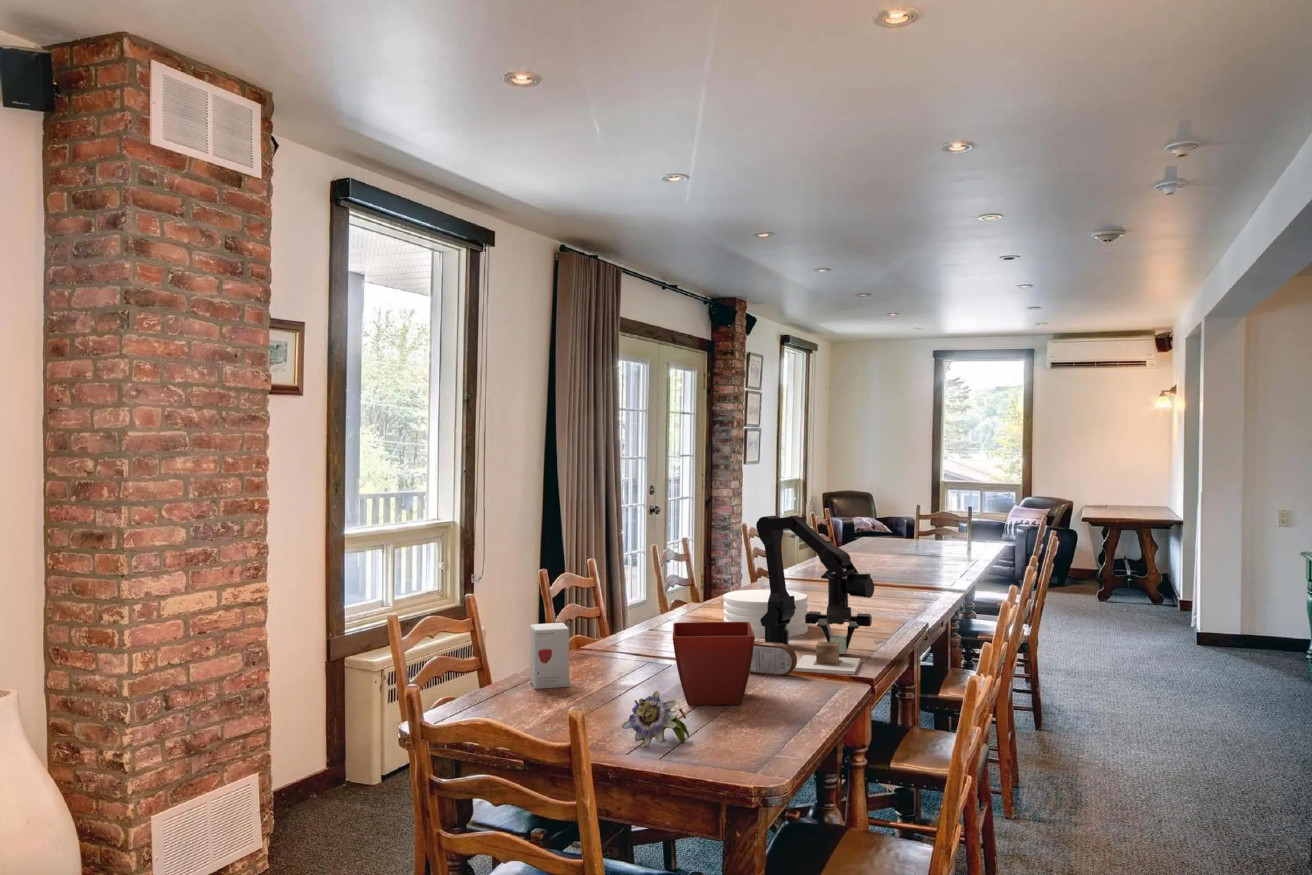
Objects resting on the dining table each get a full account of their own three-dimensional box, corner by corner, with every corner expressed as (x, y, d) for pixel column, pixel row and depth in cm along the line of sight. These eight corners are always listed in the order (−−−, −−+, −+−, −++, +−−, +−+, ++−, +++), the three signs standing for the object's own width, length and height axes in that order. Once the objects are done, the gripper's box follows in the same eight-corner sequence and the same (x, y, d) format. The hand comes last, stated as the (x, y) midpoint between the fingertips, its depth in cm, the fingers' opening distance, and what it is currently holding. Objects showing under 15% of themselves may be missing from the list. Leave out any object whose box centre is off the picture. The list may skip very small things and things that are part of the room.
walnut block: (816, 663, 253) (816, 645, 253) (819, 659, 258) (819, 641, 258) (836, 664, 251) (836, 646, 251) (839, 660, 256) (838, 642, 256)
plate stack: (814, 637, 295) (813, 601, 295) (726, 638, 295) (726, 602, 296) (801, 621, 323) (800, 589, 323) (721, 622, 323) (720, 589, 324)
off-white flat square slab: (794, 671, 249) (794, 666, 249) (803, 658, 264) (803, 654, 264) (854, 674, 244) (854, 670, 244) (860, 661, 260) (860, 657, 260)
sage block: (830, 653, 268) (829, 637, 268) (832, 649, 272) (831, 634, 272) (845, 653, 266) (845, 638, 267) (847, 650, 271) (847, 635, 271)
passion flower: (647, 772, 186) (612, 725, 186) (659, 746, 197) (626, 701, 197) (691, 746, 183) (655, 697, 183) (701, 720, 194) (666, 674, 194)
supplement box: (534, 689, 232) (533, 629, 233) (529, 681, 241) (529, 623, 241) (570, 686, 235) (569, 627, 235) (564, 678, 243) (563, 621, 244)
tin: (797, 675, 245) (797, 643, 245) (794, 678, 242) (793, 645, 242) (743, 670, 251) (743, 639, 251) (740, 672, 248) (739, 641, 248)
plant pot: (674, 688, 232) (673, 621, 232) (750, 688, 231) (749, 620, 232) (673, 709, 213) (672, 636, 213) (756, 709, 212) (755, 635, 213)
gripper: (801, 597, 265) (802, 652, 265) (868, 600, 259) (869, 655, 259) (807, 591, 275) (808, 644, 275) (871, 594, 270) (872, 647, 269)
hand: (838, 648), depth 269 cm, fingers closed on sage block, 4 cm apart
